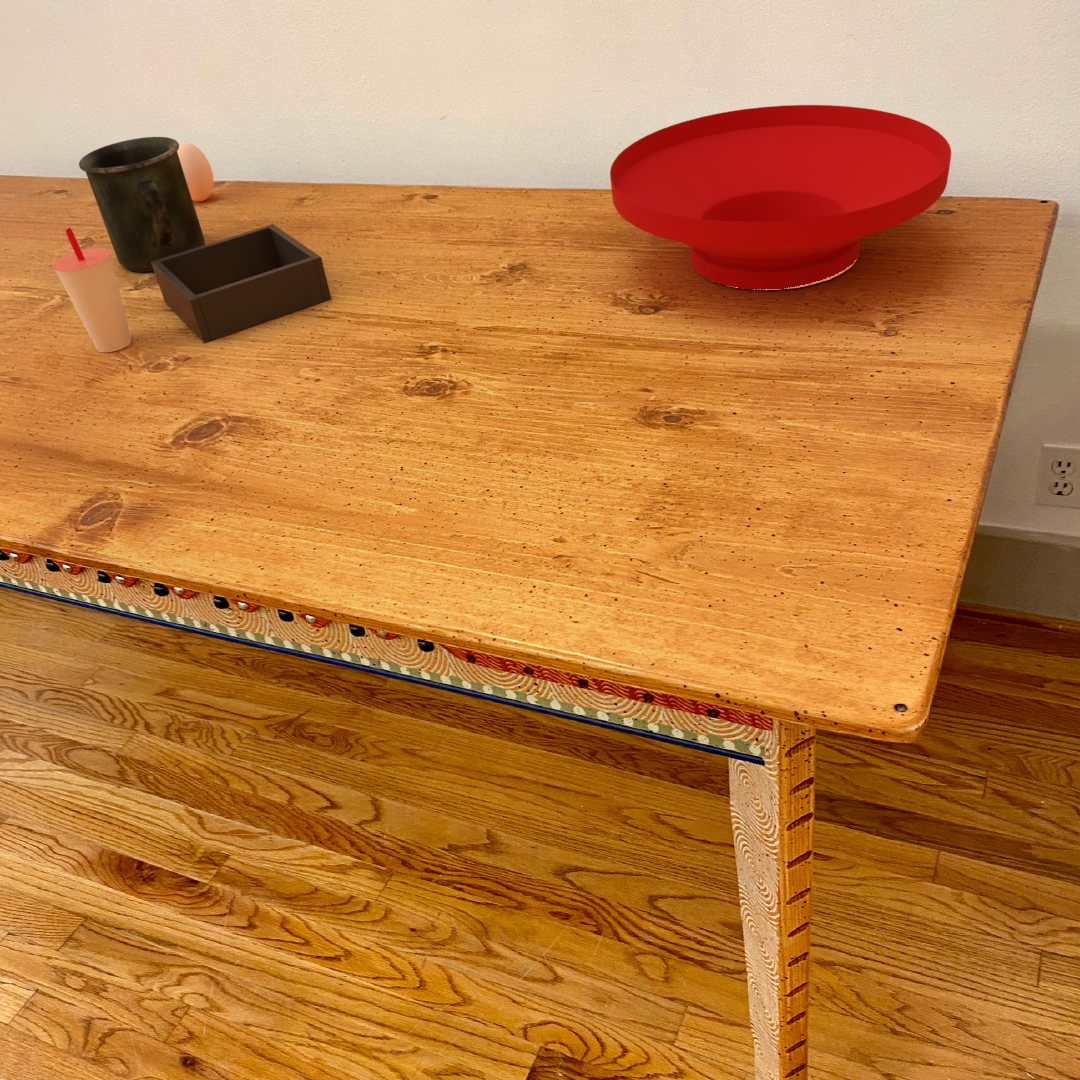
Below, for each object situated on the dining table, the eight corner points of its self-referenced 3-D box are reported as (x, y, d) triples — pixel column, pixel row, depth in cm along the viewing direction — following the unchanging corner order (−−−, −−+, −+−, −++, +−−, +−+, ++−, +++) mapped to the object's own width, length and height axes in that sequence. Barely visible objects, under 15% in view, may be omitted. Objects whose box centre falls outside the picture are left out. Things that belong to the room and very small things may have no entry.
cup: (101, 362, 105) (53, 242, 98) (77, 348, 108) (30, 231, 101) (151, 340, 107) (108, 223, 100) (127, 327, 111) (84, 212, 104)
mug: (197, 230, 132) (166, 129, 125) (228, 265, 122) (196, 157, 115) (108, 255, 129) (70, 153, 122) (132, 293, 118) (92, 184, 111)
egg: (177, 207, 141) (158, 149, 136) (195, 194, 144) (178, 137, 140) (208, 206, 140) (190, 148, 135) (226, 193, 143) (209, 136, 139)
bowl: (680, 195, 122) (677, 103, 116) (965, 208, 110) (977, 105, 104) (567, 311, 101) (555, 206, 95) (903, 344, 89) (913, 225, 83)
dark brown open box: (204, 343, 105) (189, 300, 103) (164, 301, 115) (150, 261, 112) (331, 298, 110) (321, 256, 108) (283, 263, 120) (272, 223, 118)
